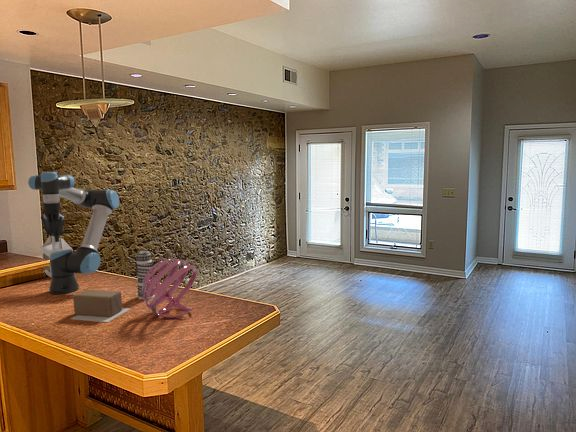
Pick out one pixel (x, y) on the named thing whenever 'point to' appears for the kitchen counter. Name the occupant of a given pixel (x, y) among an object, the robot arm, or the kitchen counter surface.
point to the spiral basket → (163, 286)
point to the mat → (99, 317)
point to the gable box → (52, 251)
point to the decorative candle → (143, 270)
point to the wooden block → (97, 303)
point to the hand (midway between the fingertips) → (55, 248)
